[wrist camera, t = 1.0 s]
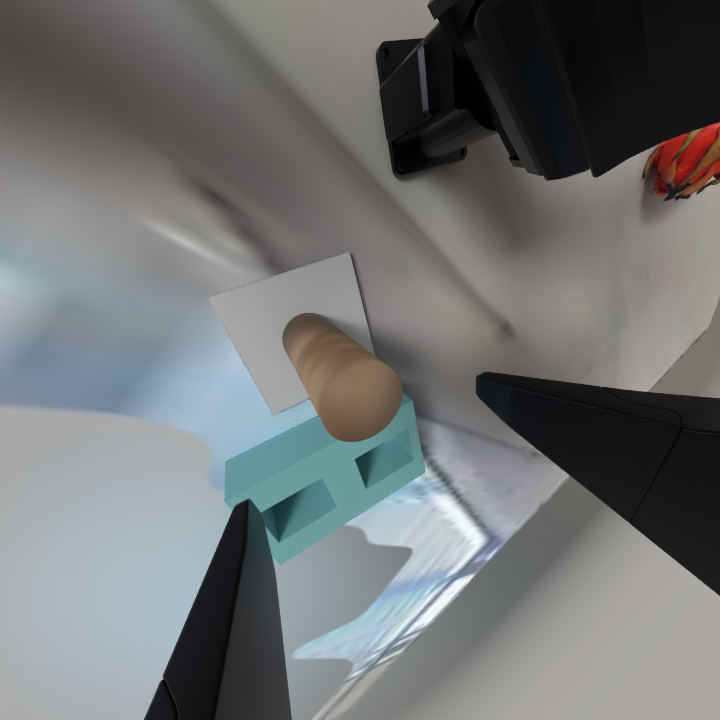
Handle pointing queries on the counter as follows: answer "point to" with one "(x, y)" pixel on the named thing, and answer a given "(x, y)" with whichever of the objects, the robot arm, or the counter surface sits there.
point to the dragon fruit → (686, 163)
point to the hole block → (322, 478)
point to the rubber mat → (277, 307)
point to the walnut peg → (342, 378)
